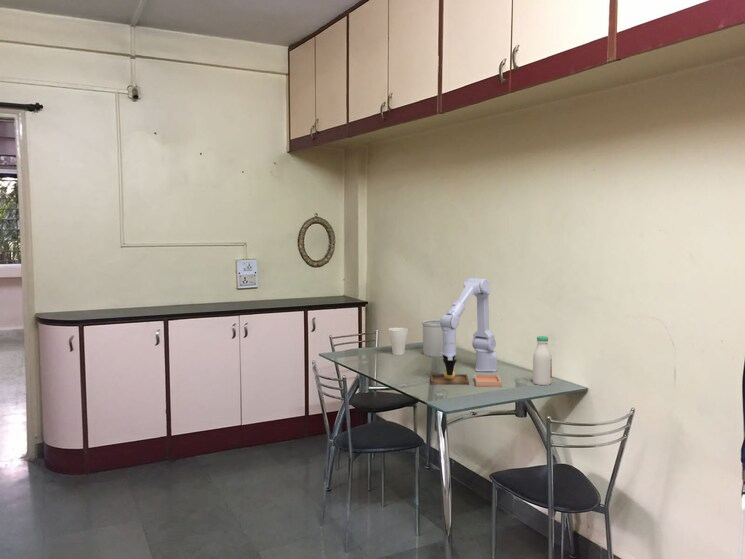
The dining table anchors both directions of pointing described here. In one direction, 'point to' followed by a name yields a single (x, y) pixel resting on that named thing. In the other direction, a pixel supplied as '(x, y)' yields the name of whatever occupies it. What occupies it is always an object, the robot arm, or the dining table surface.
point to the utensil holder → (432, 338)
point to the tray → (441, 380)
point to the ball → (449, 375)
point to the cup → (398, 339)
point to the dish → (487, 381)
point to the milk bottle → (542, 362)
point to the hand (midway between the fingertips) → (449, 373)
